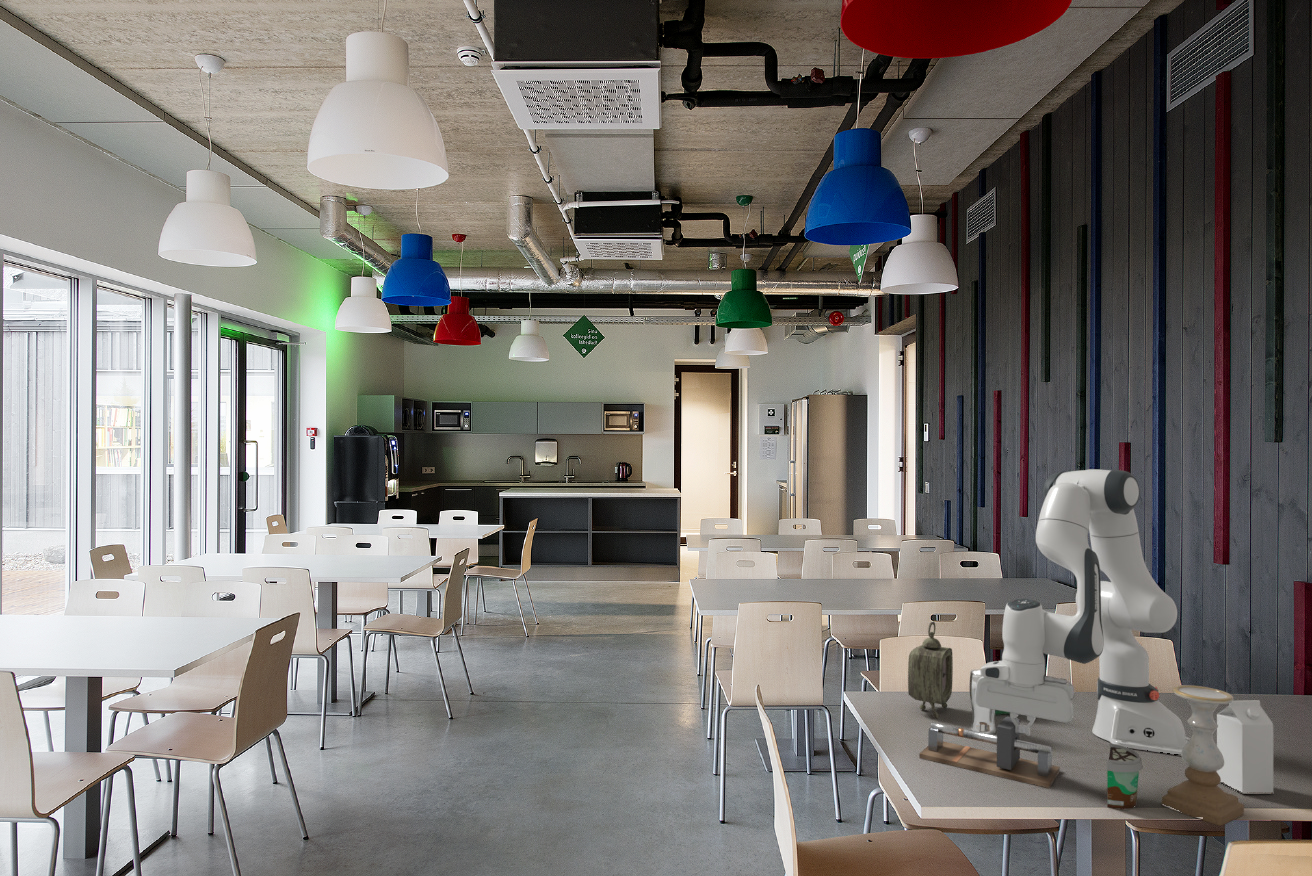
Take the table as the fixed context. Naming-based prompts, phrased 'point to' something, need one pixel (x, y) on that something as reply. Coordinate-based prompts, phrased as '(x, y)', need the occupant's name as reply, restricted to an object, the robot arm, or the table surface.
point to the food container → (1122, 777)
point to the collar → (1007, 744)
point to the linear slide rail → (1043, 751)
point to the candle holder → (1203, 762)
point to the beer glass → (980, 709)
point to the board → (989, 764)
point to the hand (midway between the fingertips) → (1022, 733)
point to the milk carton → (1246, 746)
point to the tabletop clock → (930, 672)
